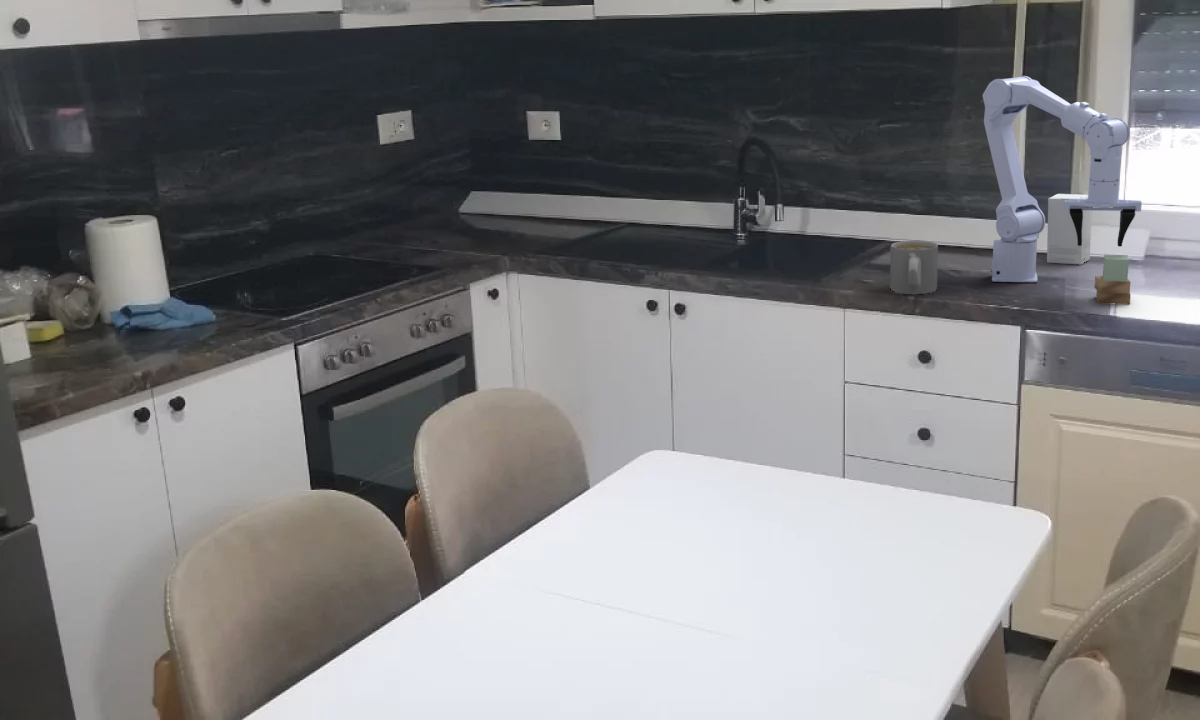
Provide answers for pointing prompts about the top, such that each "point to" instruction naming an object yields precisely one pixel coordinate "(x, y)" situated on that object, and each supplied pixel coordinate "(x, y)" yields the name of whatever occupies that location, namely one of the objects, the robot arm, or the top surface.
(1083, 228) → the skincare box
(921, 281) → the coffee mug
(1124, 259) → the block
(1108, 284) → the tower top
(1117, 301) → the tower base
